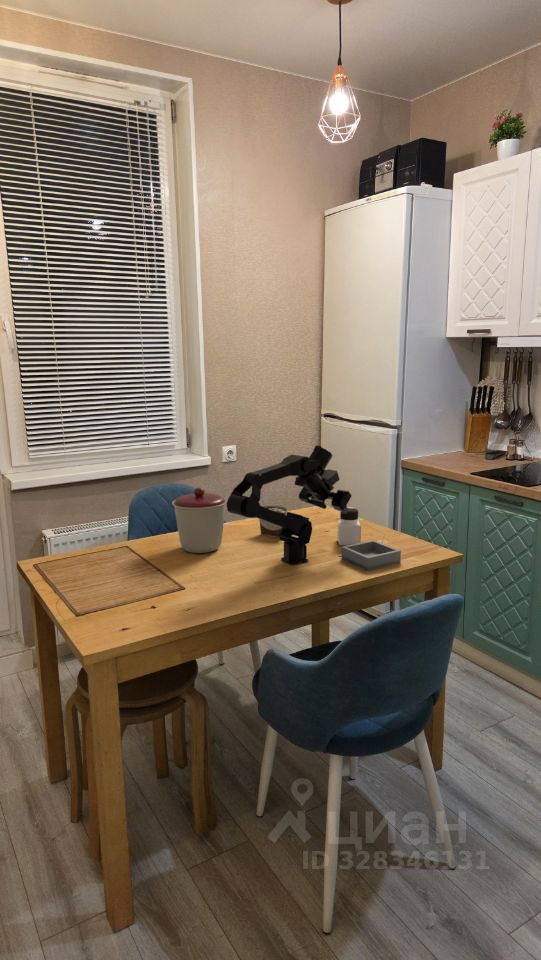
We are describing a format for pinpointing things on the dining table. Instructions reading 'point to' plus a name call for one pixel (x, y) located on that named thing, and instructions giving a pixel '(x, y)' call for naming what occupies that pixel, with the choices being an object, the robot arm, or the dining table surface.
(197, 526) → the canister
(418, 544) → the dining table surface
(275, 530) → the food container
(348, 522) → the medicine bottle
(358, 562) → the open-top box
